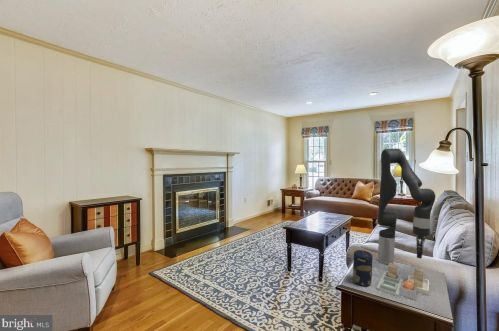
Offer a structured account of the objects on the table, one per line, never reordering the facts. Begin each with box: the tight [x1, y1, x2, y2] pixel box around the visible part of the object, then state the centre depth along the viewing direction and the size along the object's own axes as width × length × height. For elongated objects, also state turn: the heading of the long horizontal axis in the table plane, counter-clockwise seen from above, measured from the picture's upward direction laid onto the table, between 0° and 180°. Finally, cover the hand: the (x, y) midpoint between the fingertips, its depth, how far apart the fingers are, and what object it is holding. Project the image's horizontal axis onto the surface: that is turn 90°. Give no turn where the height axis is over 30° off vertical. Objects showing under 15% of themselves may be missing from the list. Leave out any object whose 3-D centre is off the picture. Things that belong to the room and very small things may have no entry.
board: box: [376, 271, 404, 297], centre depth 134 cm, size 19×10×3 cm, turn 142°
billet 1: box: [387, 263, 398, 279], centre depth 138 cm, size 4×4×8 cm
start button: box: [403, 280, 414, 290], centre depth 125 cm, size 4×4×6 cm
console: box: [399, 281, 418, 301], centre depth 125 cm, size 7×7×4 cm
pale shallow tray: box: [406, 274, 430, 297], centre depth 133 cm, size 14×10×2 cm
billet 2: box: [413, 268, 424, 288], centre depth 133 cm, size 4×4×8 cm
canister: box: [352, 249, 373, 287], centre depth 136 cm, size 10×10×18 cm
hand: (419, 255), depth 132 cm, fingers open, 8 cm apart
